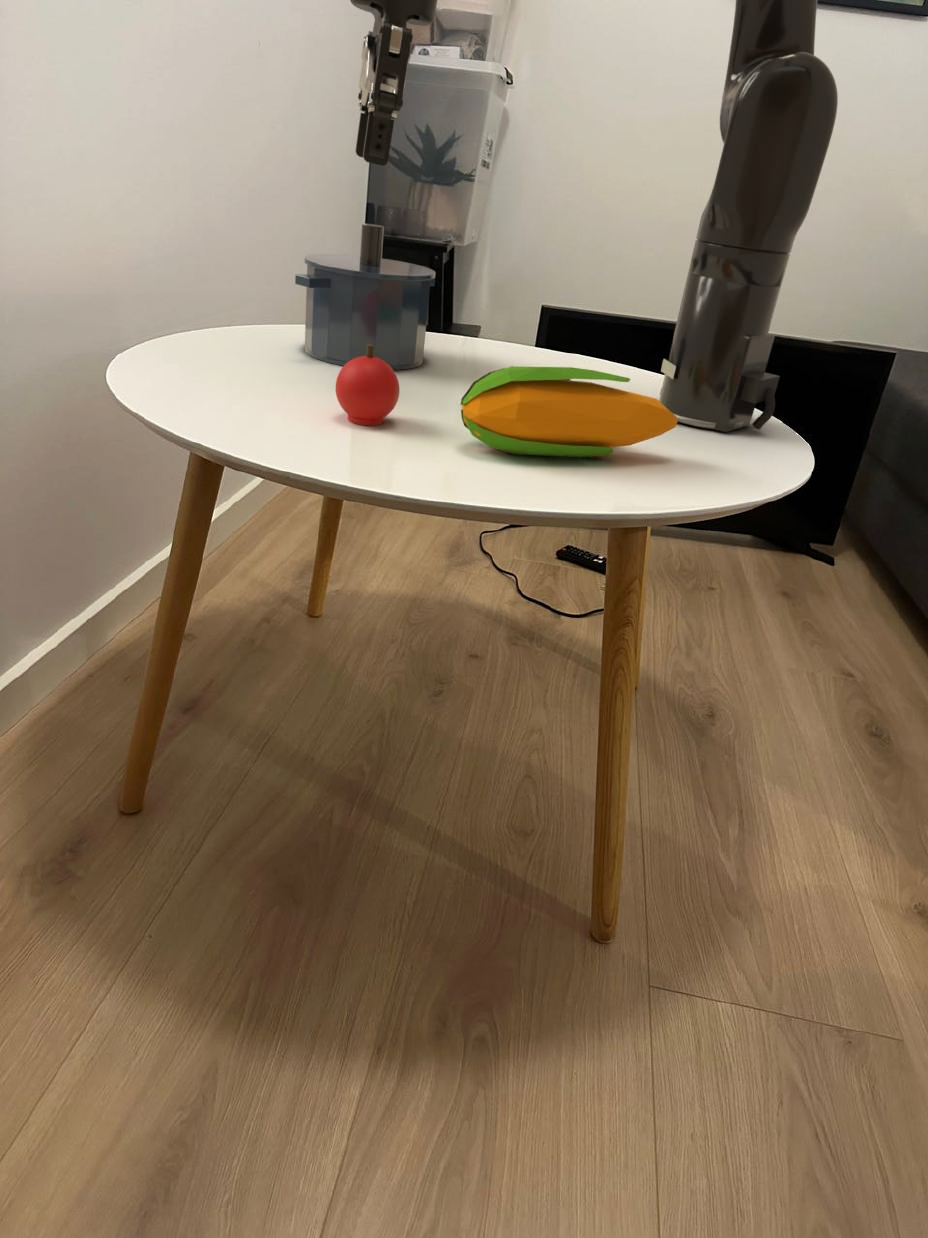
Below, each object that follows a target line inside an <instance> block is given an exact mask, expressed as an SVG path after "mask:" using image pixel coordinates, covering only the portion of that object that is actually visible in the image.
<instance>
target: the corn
mask: <svg viewBox="0 0 928 1238" xmlns="http://www.w3.org/2000/svg"><path fill="white" fill-rule="evenodd" d="M583 380H597V381H598V380H599V381H601V380H602V381H611V382H619V383H620V382H621V383H630V381H631V378H630V377H626V376H621V375H617V374H612V373H609V372H608V373H607V372H603V371H599V370H594V369H586V368H580V367H572V366H517V365H516V366H512V365H511V366H508V367H504V368H500V369H497V370H493V371H490V372H488V373H486V374H484V375H482V377H480V378H478V379H476V380H475V381H473V382H472V383H471V385H470V386H469V388H468V389H467V391H466V392H465V393H464V394H463V396H462V397H461V401H460V403H459V406H461V409H460V413H461V415H460V416H461V421H462V423H463V427H465V428H466V429H467V430H468V431H469V433H470V434H471V436H473V437H474V438H476V439H478V440H479V441H480V442H482V443H483V444H485V445H486V446H488V447H490V448H491V449H495V450H498V451H502V452H505V453H508V454H512V455H521V456H543V457H544V456H545V457H566V458H590V457H603V456H609V455H612V454H613V452H614V450H613V449H612V448H617V447H618V448H619V447H628V446H632V445H635V444H638V443H641V442H644V441H647V440H650V439H654V438H657V437H659V436H662V435H664V434H666V433H667V432H669V431H671V430H673V429H675V428H676V427H677V424H678V423H679V422H678V418H677V417H676V416H675V415H674V414H673V413H672V412H670V411H669V410H668V409H667V408H666V407H665V406H664V405H663V404H662V403H660V402H659V399H657V398H656V397H651V396H647V395H643V394H639V393H635V392H632V391H628V390H624V389H620V388H615V387H613V386H612V387H611V386H607V385H603V384H600V383H595V382H592V381H583Z"/></svg>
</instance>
